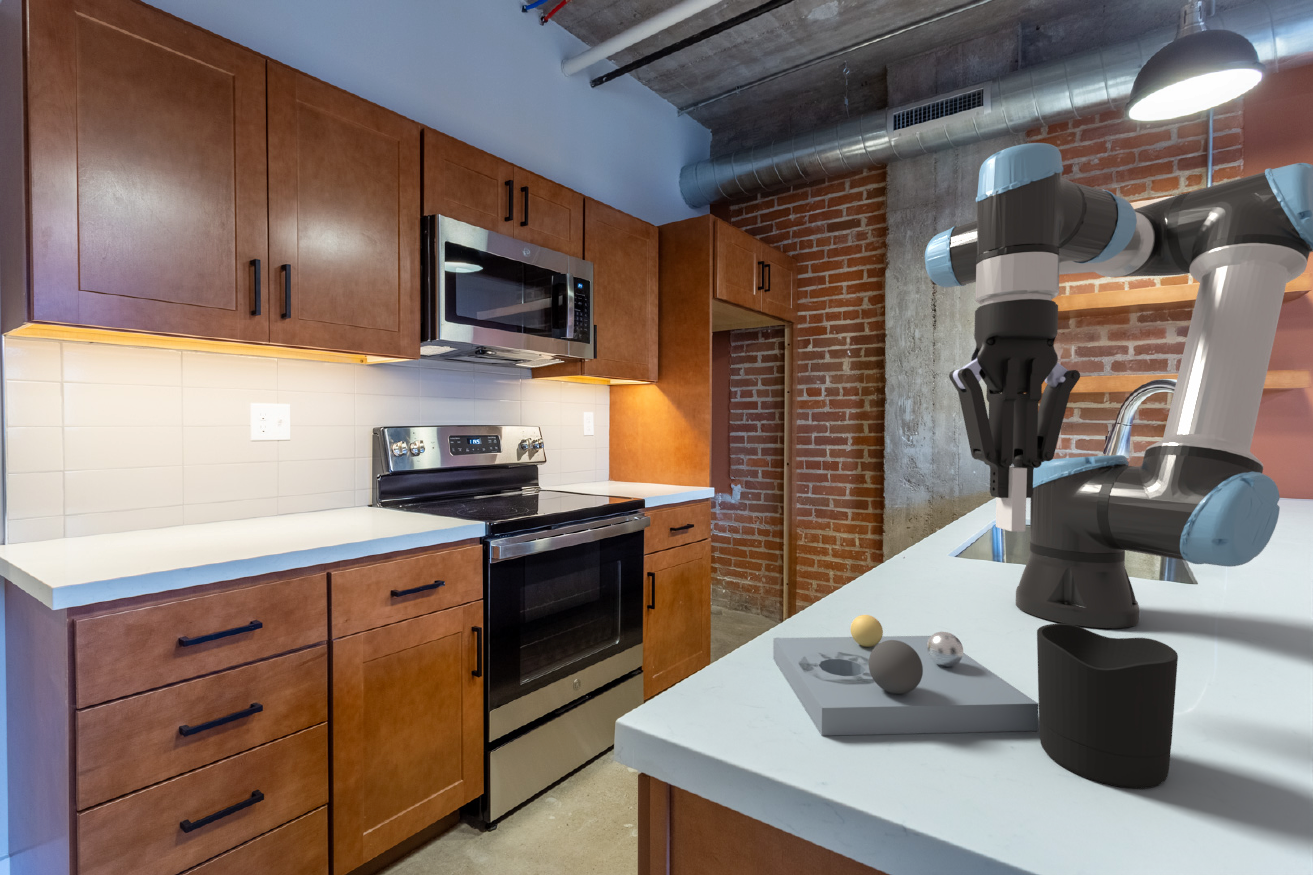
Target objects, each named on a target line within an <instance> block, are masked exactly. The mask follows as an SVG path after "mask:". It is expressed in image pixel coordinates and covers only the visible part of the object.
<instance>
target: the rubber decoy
mask: <svg viewBox="0 0 1313 875" xmlns="http://www.w3.org/2000/svg"><path fill="white" fill-rule="evenodd" d="M869 671H870V674H871V676H872V678H873V680H874V681H875V682H876V684H877V685H878V686H880V687H881V688H882V689H884V690H885V691H887V692H890V693H894V694H904V693H908V692H910V691H912V690H913V689H915V688H916V687H917V686H918V684H919V683H920V681H921V678H922V675H923V666H922V662H921V659H920V657H919V655H918V654H917V652H916V651H915V650H914V649H913V648H912V647H911V646H909V645H908V644H906V643H904V642H901V641H897V640H887V641H884V642H881V643H880V644H878V645H877V646H876V647H875V648H874V649H873V650H872V652H871V654H870V657H869Z"/></svg>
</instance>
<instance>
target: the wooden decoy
mask: <svg viewBox="0 0 1313 875" xmlns="http://www.w3.org/2000/svg"><path fill="white" fill-rule="evenodd" d="M850 635H851V637H853V639H854V640H855V641H856V642H857V643H858V644H860V645H862V646H865V647H871V646H875V645H876V644H878V643H879V642H880V640H881V639H882V636H883V635H884V630H883V626H882V624H881V622H880V621H879V620H878V619H877V618H876V617H874V616H872V615H870V614H861V615H858V616H857V617H855V618H854V619H853V620H852V622H851V624H850Z"/></svg>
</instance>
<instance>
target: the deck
mask: <svg viewBox="0 0 1313 875" xmlns="http://www.w3.org/2000/svg"><path fill="white" fill-rule="evenodd" d="M931 636H932V635H900V636H899V635H893V636H888V635H887V636H883V635H882V639H881V640H880V642H879V643H878V644H880V643H881V642H884V641H887V640H897V641H901V642H904V643H906V644H908V645H909V646H911V647H912V648H913V649H914V650H915V651H916V652H917V654H918V655H919V657H920V659H921V662H922V666H923V675H922V678H921V681H920V683H919V684H918V686H917V687H916V688H915V689H913V690H912V691H910V692H908V693H904V694H894V693H890V692H887V691H885V690H884V689H882V688H881V687H880V686H878V685H877V684H876V682H875V681H874V680H873V678H872V676H871V674H870V671H869V657H870V654H871V652H872V650H873V649H874V648H875V647H876V646H877V645H878V644H876V645H875V646H871V647H865V646H862V645H860V644H858V643H857V642H856V641H855V640H854V639H853V637H852V636H830V637H829V636H827V637H823V636H822V637H821V636H820V637H819V636H817V637H811V636H810V637H773V644H772V645H773V649H772V650H773V651H772V652H773V653H772V654H773V655H772V656H773V658H772V660H773V661H774V662H775V664H776V665H777V667H778V668H779V671H780V672H781V673H782V675H783V677H784V679H785V680H786V681H787V683H788V684H789V686H790V688H791V689H792V692H794V694H795V696H796V697H797V699H798V700H799V702H800V703H801V705H802V707H803V708H804V710H805V711H806V714H808V716H809V718H810V720H811V721H812V723H813V725H814V726H815V727H816V729H817V731H818V732H819V733H820V736H860V735H861V736H862V735H864V736H865V735H906V734H907V735H908V734H910V735H911V734H912V735H914V734H945V733H946V734H949V733H952V734H954V733H989V732H990V733H993V732H1000V733H1001V732H1030V731H1031V732H1037V731H1039V702H1037V701H1036V700H1034V699H1032V697H1030V696H1028V695H1026V694H1025V693H1024V692H1022V691H1020V689H1018V688H1016V686H1015V687H1014V685H1012V684H1010V683H1009V682H1008V681H1006V680H1004V679H1003V678H1002V677H1000V676H999V675H997V674H996V673H995V672H992V671H991V670H990V669H988V668H987V667H985V666H984V665H982V664H981V663H979V662H978V661H976V659H973V658H972V657H971V656H969V655H968V654H966V653H965V652H963V657H962V659H961V661H960V662H959V663H958V664H956V665H954V666H951V667H944V666H940V665H938V664H937V663H935V662H934V661H933V660H932V659H931V658H930V656H929V655H928V652H927V642H928V640H929V638H930V637H931Z"/></svg>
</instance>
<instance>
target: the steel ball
mask: <svg viewBox="0 0 1313 875" xmlns="http://www.w3.org/2000/svg"><path fill="white" fill-rule="evenodd" d="M930 636H931V637H930V638H929V640H928V642H927V652H928V655H929V656H930V658H931V659H932V660H933V661H934V662H935V663H937V664H938V665H940V666H944V667H951V666H954V665H956V664H958V663H959V662H960V661H961V659H962V657H963V653H964V647H963V644H962V641H961V640H960V639H959V638H958V637H957V636H956V635H955V634H953V633H951V632H948V631H938V632H935V633H933V634H932V635H930Z"/></svg>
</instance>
